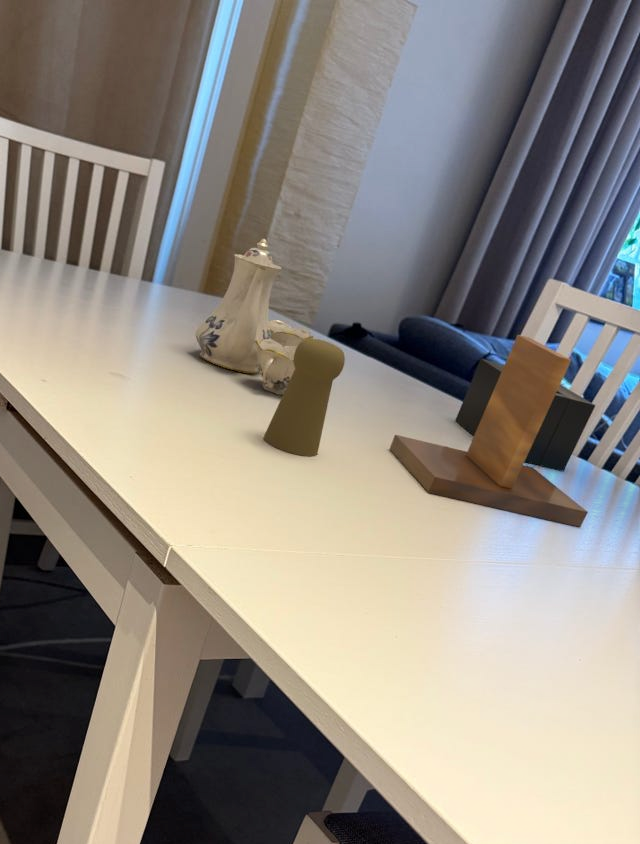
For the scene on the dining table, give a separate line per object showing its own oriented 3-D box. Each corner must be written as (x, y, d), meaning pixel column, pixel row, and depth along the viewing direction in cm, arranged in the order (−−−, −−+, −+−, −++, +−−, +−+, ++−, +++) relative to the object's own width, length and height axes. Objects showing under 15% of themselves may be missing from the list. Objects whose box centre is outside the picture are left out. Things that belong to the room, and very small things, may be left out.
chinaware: (314, 422, 117) (373, 291, 109) (191, 375, 114) (243, 238, 106) (288, 371, 141) (335, 261, 134) (186, 331, 139) (228, 217, 131)
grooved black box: (524, 437, 135) (552, 377, 131) (571, 473, 122) (604, 407, 118) (454, 420, 133) (480, 358, 129) (495, 455, 120) (525, 387, 116)
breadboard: (526, 481, 112) (532, 467, 111) (580, 527, 100) (588, 512, 99) (389, 449, 108) (394, 434, 107) (428, 492, 96) (435, 476, 95)
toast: (477, 458, 108) (529, 337, 101) (511, 489, 99) (571, 359, 92) (465, 455, 107) (517, 334, 101) (499, 486, 99) (558, 356, 92)
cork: (321, 460, 96) (358, 356, 91) (266, 446, 96) (300, 340, 91) (313, 443, 102) (348, 343, 97) (261, 429, 101) (292, 328, 96)
